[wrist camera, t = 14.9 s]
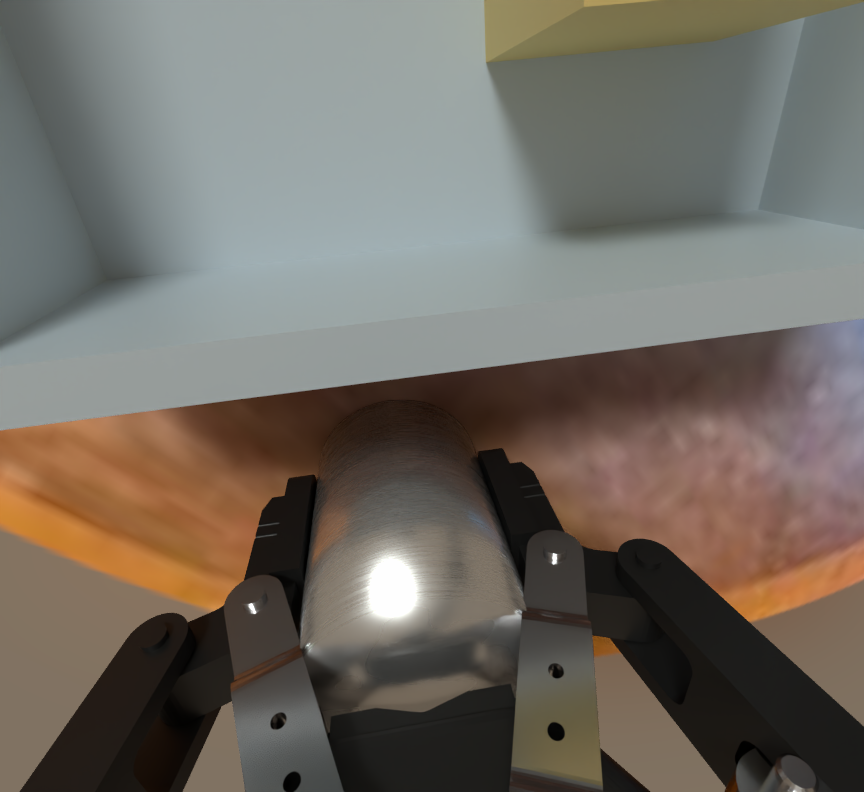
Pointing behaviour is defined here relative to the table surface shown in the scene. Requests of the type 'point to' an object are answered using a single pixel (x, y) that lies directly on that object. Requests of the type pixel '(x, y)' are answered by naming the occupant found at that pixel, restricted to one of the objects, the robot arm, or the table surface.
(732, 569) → the table surface
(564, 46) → the ochre cube
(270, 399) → the table surface
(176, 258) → the tote
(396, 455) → the metal cylinder
